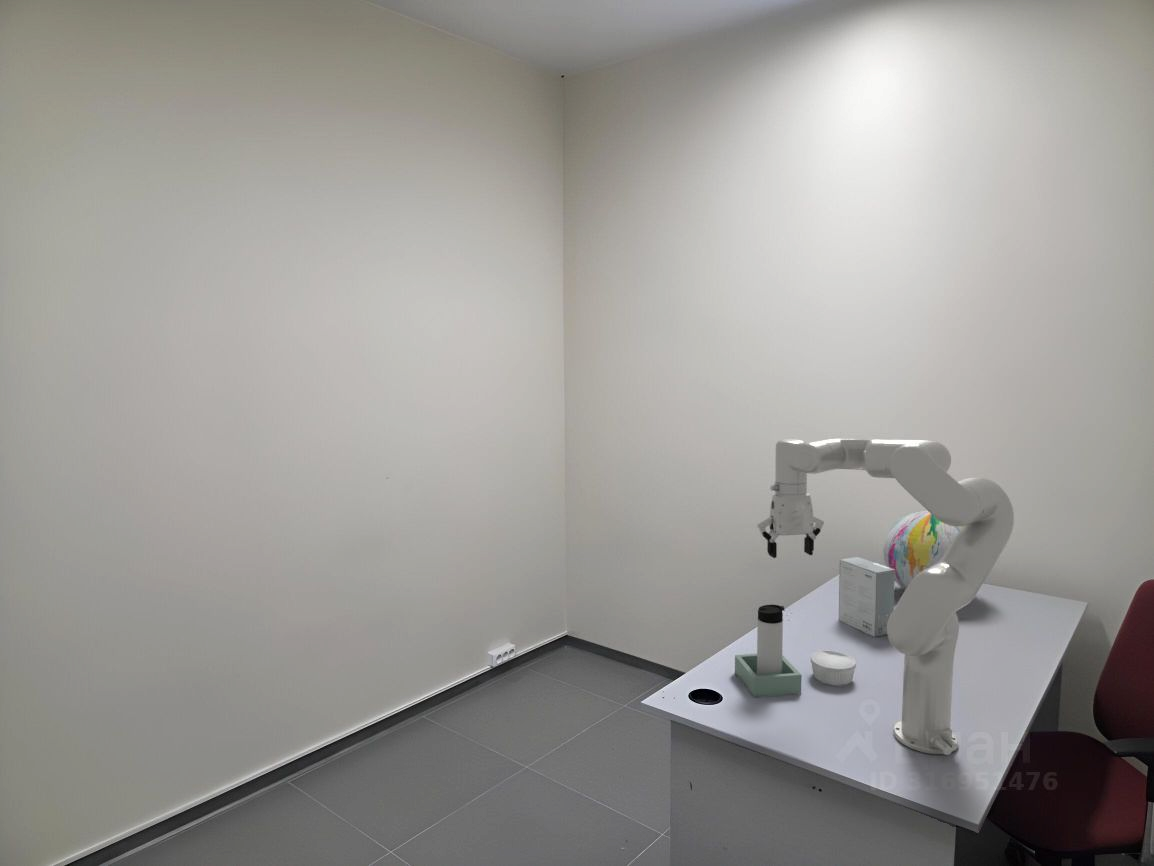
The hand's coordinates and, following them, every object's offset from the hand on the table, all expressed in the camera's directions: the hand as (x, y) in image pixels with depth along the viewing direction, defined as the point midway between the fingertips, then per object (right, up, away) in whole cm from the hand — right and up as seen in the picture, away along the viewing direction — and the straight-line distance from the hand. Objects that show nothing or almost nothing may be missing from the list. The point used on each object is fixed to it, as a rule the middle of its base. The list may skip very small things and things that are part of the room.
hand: (790, 555), depth 175 cm
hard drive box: (+35, -29, +39) cm, 60 cm away
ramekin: (+13, -34, +6) cm, 36 cm away
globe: (+67, -26, +63) cm, 95 cm away
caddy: (-5, -34, +4) cm, 34 cm away
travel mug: (-4, -33, +4) cm, 34 cm away
